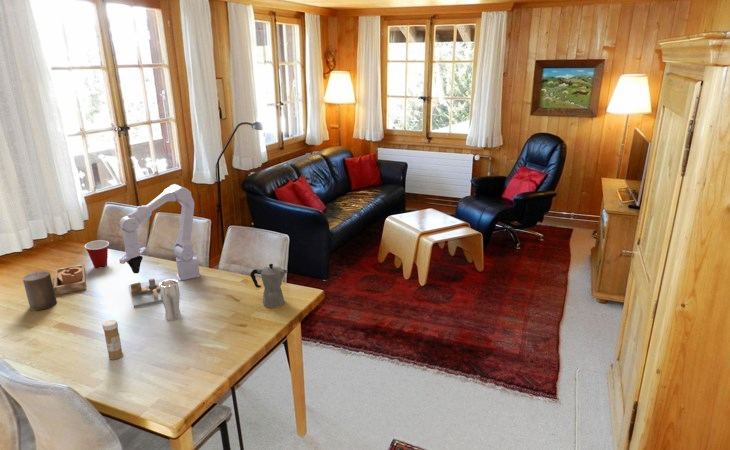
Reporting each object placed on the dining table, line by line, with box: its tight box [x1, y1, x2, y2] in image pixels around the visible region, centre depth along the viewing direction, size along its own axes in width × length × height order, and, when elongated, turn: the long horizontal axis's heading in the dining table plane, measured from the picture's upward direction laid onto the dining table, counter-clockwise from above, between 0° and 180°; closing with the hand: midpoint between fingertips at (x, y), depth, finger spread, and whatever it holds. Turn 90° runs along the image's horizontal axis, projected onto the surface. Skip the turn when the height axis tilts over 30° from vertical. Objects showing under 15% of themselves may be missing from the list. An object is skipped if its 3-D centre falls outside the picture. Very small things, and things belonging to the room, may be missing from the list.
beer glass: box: [160, 279, 182, 322], centre depth 193 cm, size 7×7×15 cm
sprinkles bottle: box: [101, 319, 124, 361], centre depth 167 cm, size 5×5×14 cm
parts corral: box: [53, 264, 87, 296], centre depth 226 cm, size 12×23×4 cm, turn 29°
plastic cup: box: [84, 239, 110, 269], centre depth 242 cm, size 11×11×12 cm
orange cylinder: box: [57, 267, 83, 286], centre depth 225 cm, size 18×8×7 cm, turn 46°
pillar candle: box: [22, 270, 58, 311], centre depth 203 cm, size 10×10×15 cm
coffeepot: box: [249, 263, 288, 309], centre depth 204 cm, size 15×9×18 cm, turn 92°
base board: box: [128, 276, 173, 309], centre depth 215 cm, size 18×22×6 cm
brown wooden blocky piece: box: [130, 281, 160, 295], centre depth 213 cm, size 11×5×4 cm, turn 119°
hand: (136, 272), depth 215 cm, fingers closed
